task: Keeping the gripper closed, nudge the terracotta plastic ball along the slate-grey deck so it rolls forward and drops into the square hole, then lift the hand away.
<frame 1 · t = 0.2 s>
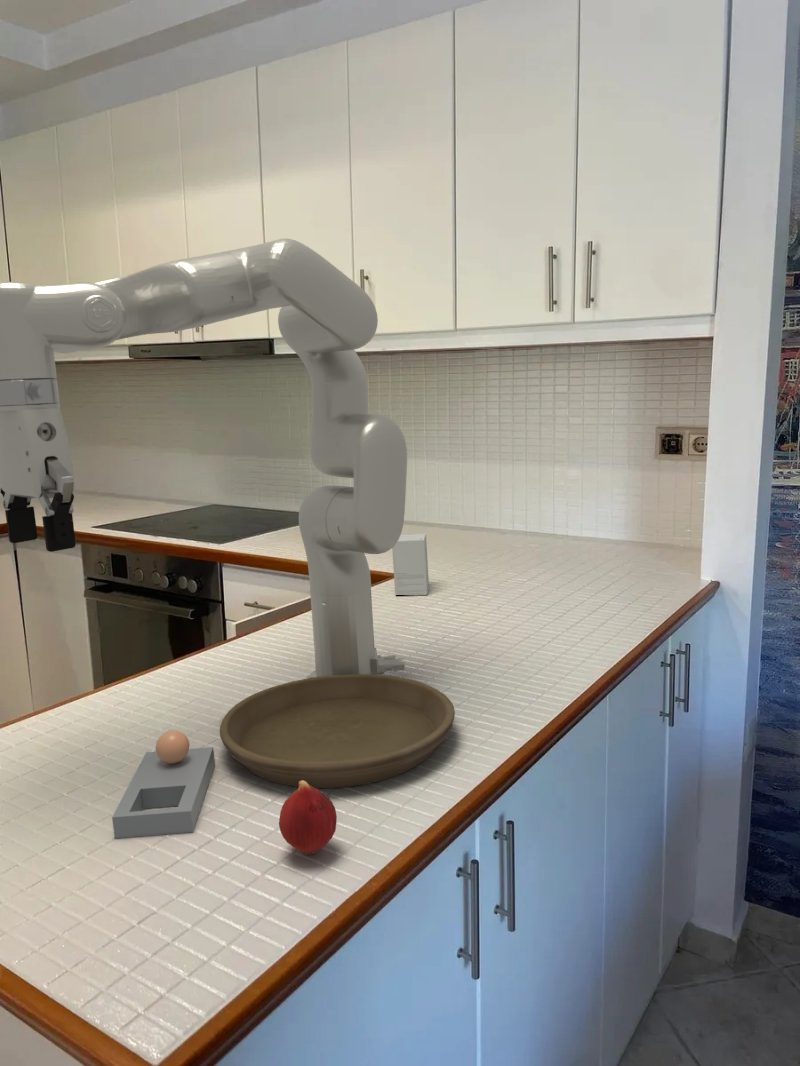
hand: (42, 545, 97), 30 cm above the counter, tool pointing down, fingers open, 9 cm apart
plant saucer: (340, 744, 112), on the counter
onion: (310, 854, 86), on the counter
supplement box: (412, 592, 187), on the counter
deck: (168, 798, 98), on the counter
ball: (172, 746, 102), point 4 cm above the counter, touching deck
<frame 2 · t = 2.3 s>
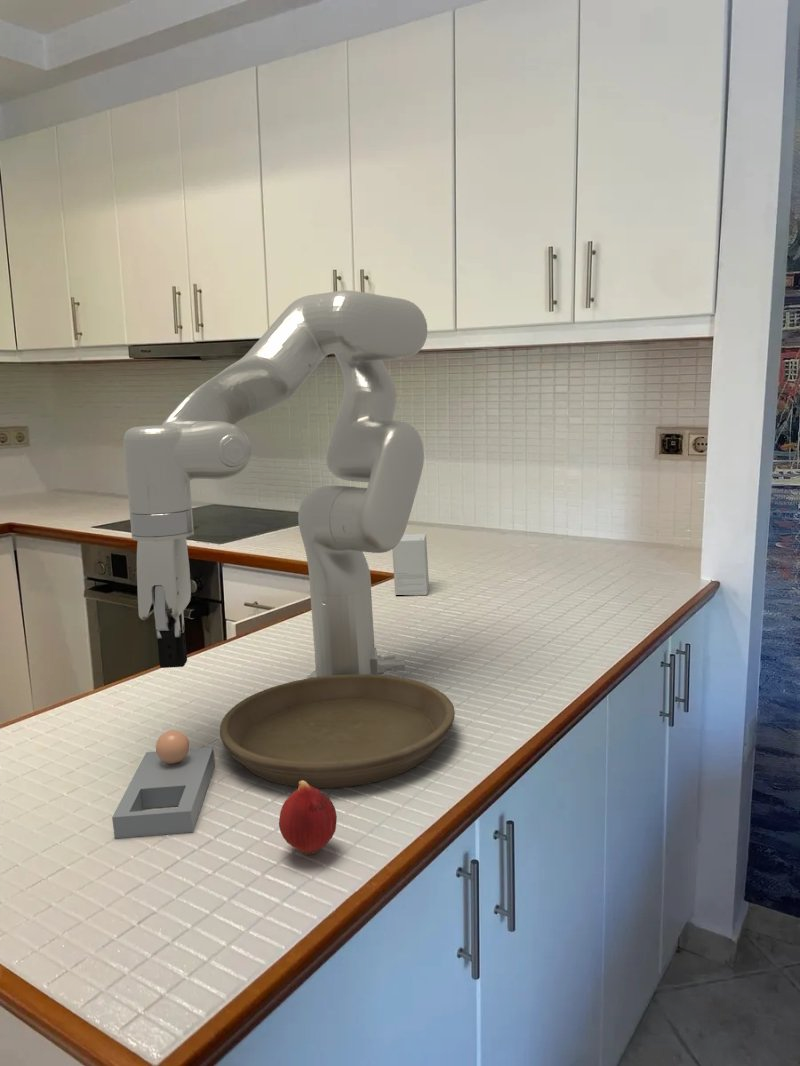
hand: (173, 665, 107), 13 cm above the counter, tool pointing down, fingers closed
nothing on the counter moved.
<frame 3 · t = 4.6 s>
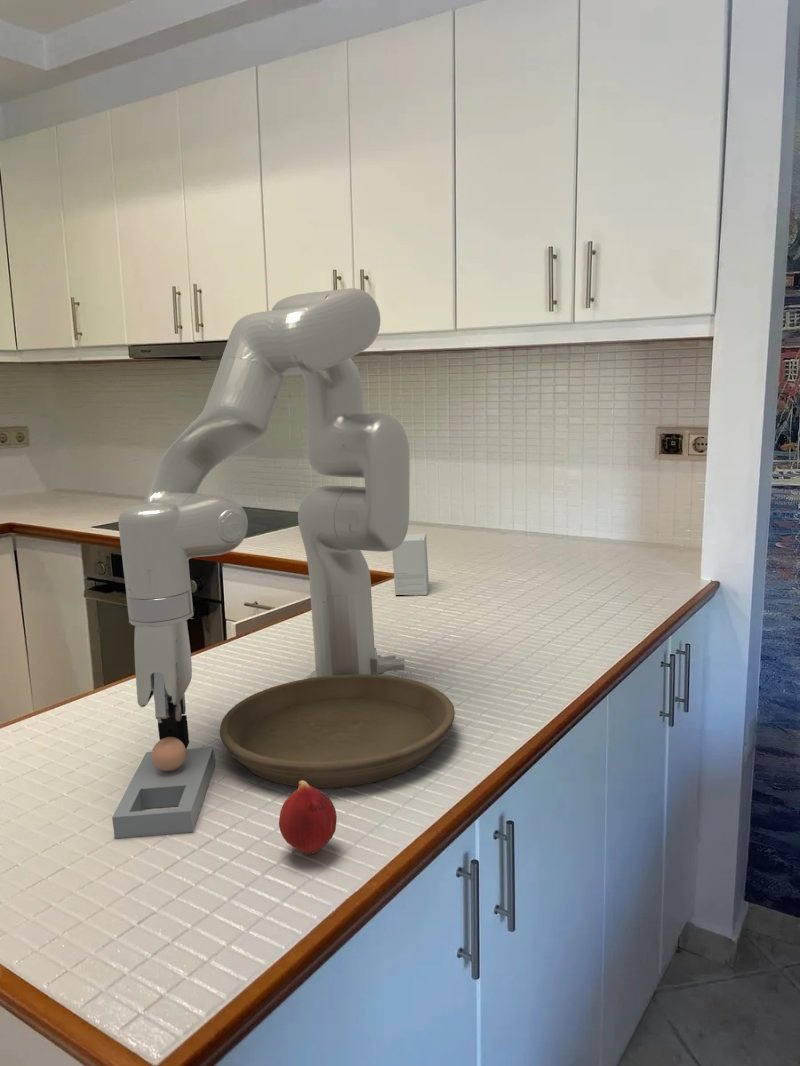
hand: (175, 748, 104), 4 cm above the counter, tool pointing down, fingers closed
ball: (169, 754, 100), point 4 cm above the counter, tilted 9°, touching deck, gripper
everything else where it was.
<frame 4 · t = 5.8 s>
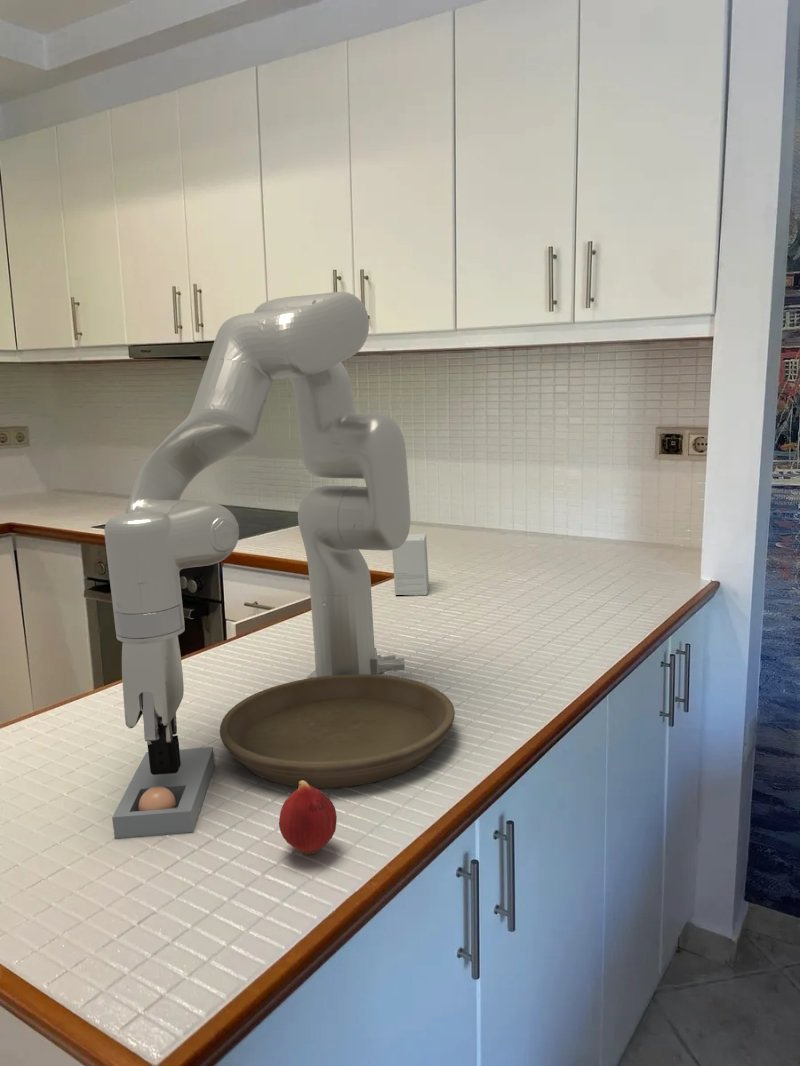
hand: (166, 770, 98), 3 cm above the counter, tool pointing down, fingers closed
ball: (157, 805, 93), point 2 cm above the counter, tilted 153°
everything else where it was.
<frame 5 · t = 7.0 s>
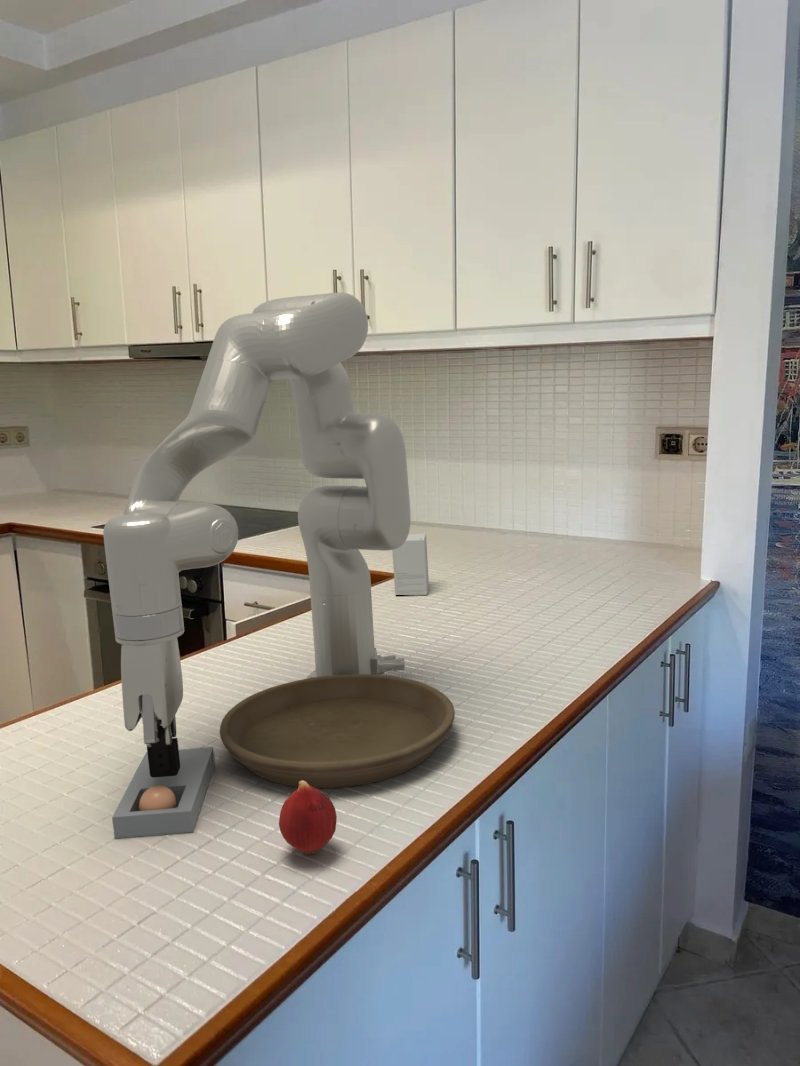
hand: (165, 773, 98), 3 cm above the counter, tool pointing down, fingers closed
ball: (157, 804, 93), point 2 cm above the counter, tilted 146°
everything else where it was.
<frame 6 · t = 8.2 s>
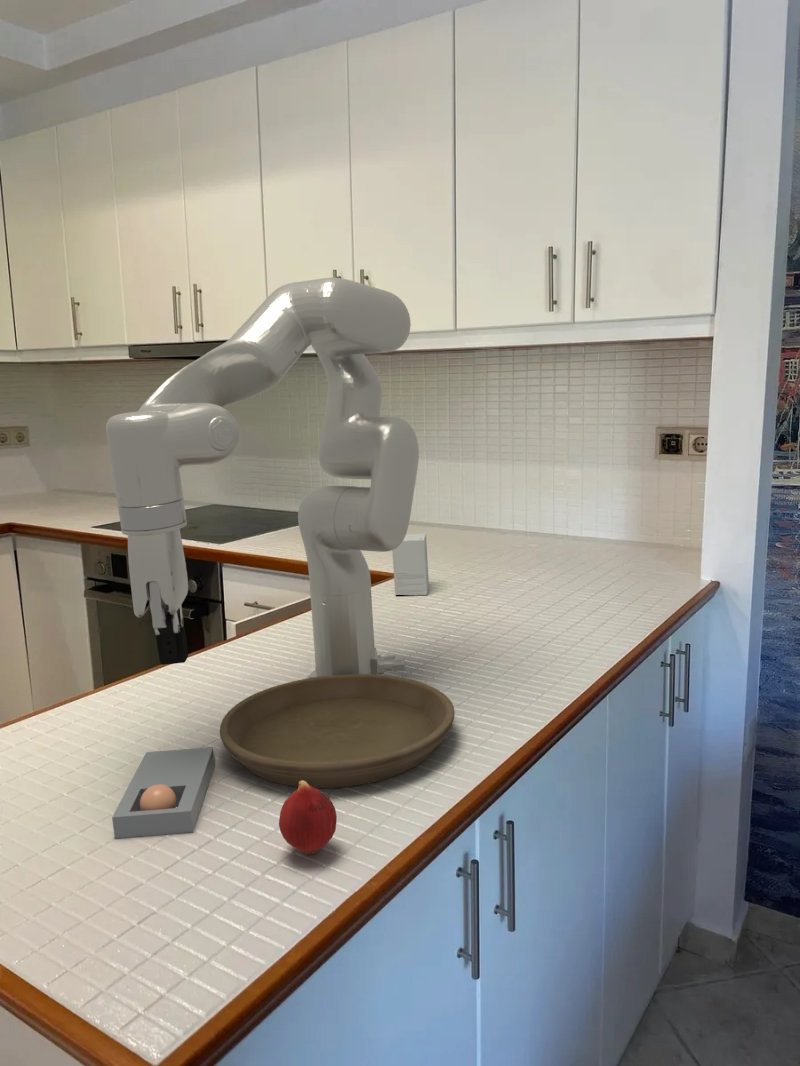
hand: (174, 661, 103), 15 cm above the counter, tool pointing down, fingers closed
ball: (158, 802, 94), point 2 cm above the counter, tilted 140°
everything else where it was.
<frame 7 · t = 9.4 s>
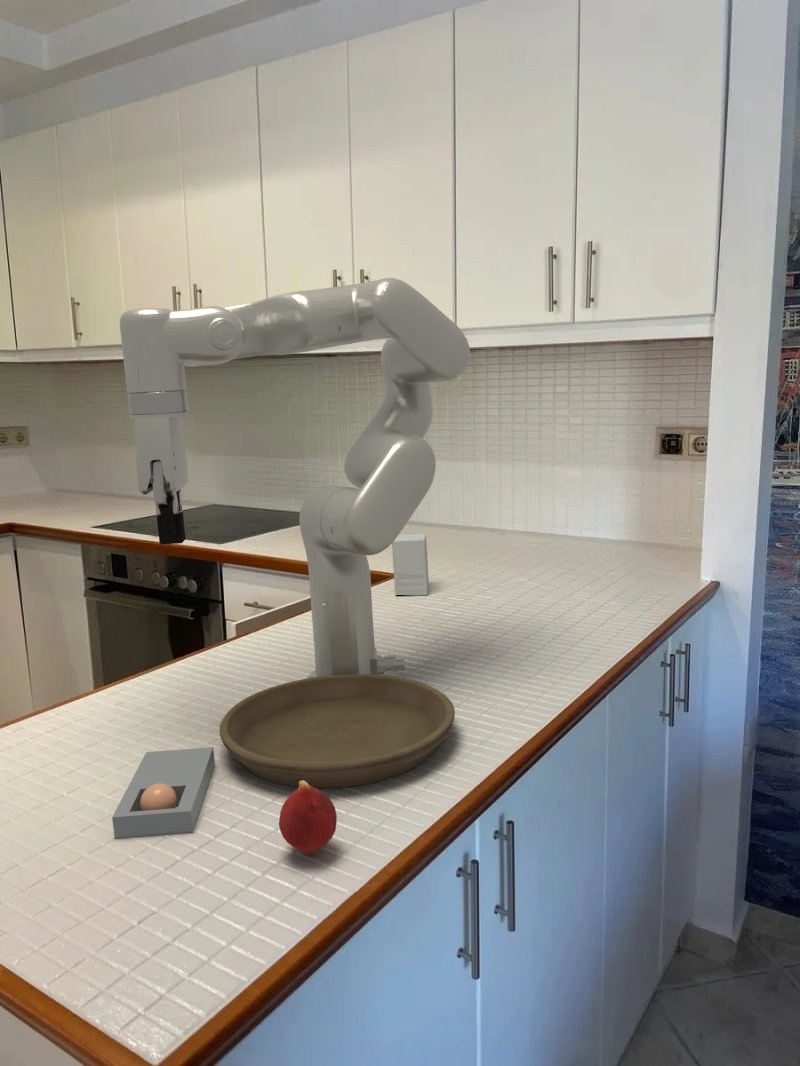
hand: (172, 542, 113), 27 cm above the counter, tool pointing down, fingers closed
ball: (158, 801, 94), point 2 cm above the counter, tilted 133°
everything else where it was.
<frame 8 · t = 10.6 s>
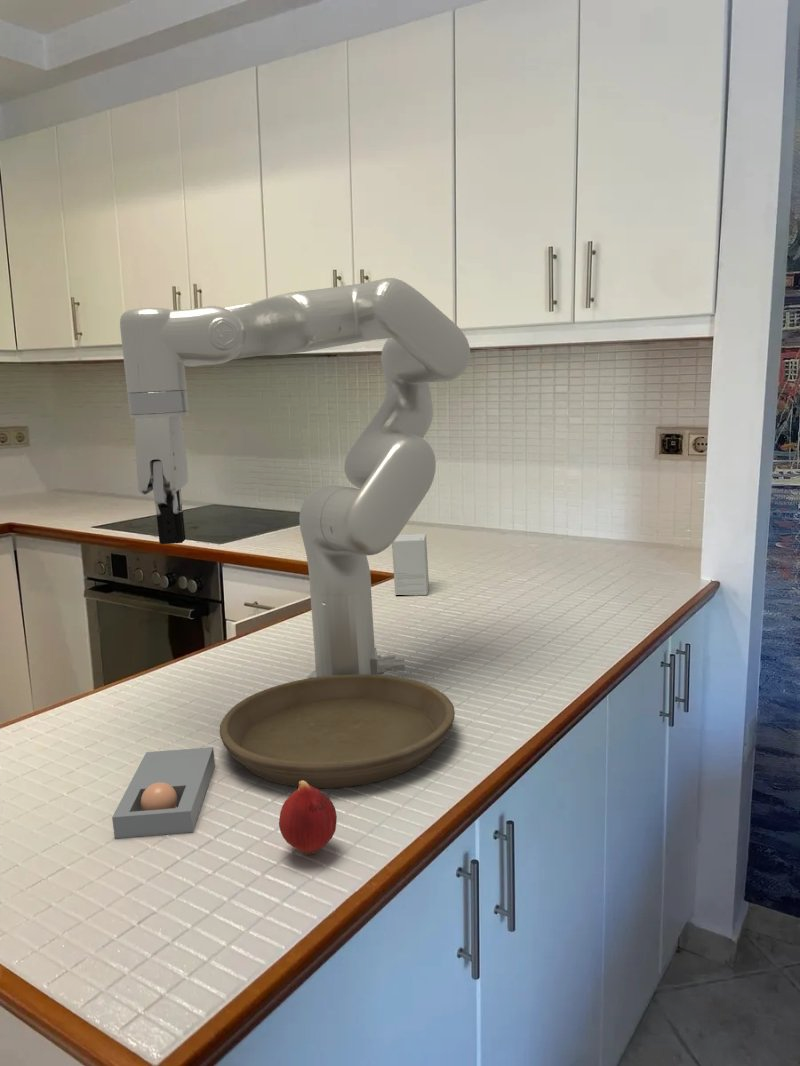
hand: (172, 542, 113), 27 cm above the counter, tool pointing down, fingers closed
ball: (159, 800, 94), point 2 cm above the counter, tilted 126°
everything else where it was.
at the end: ball 0.4 cm from the target spot on the deck, point 2.0 cm above the deck's base; ball point 2.0 cm above the counter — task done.
